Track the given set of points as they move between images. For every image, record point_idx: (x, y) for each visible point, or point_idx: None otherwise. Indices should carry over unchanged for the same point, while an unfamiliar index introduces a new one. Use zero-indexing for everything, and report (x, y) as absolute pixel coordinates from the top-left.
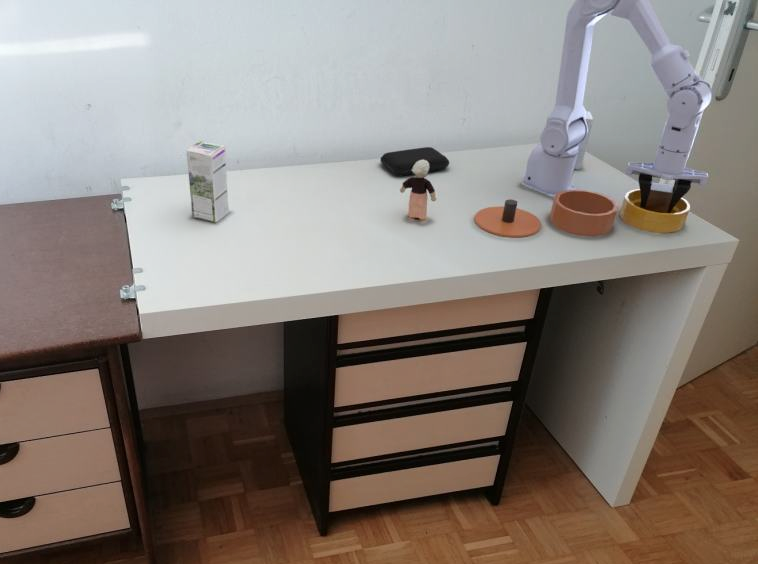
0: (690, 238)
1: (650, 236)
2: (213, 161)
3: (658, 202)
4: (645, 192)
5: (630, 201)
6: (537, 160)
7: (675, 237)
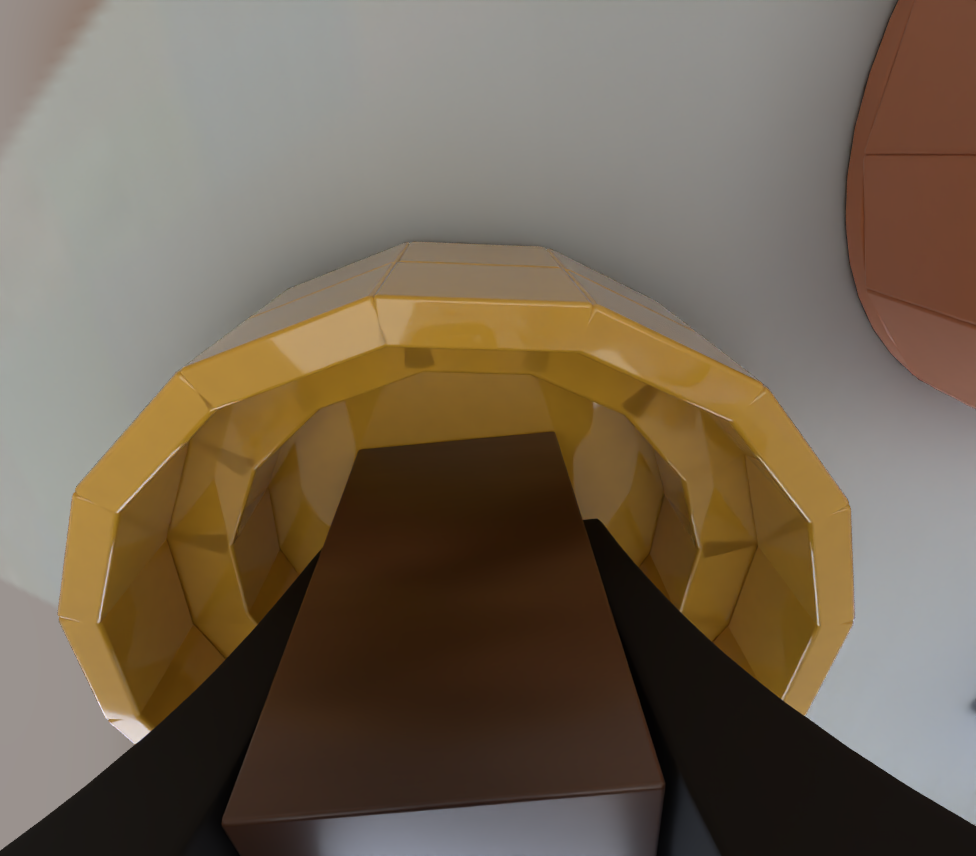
0: (72, 337)
1: (429, 181)
2: None
3: (449, 609)
4: (707, 712)
5: None
6: None
7: (199, 288)
